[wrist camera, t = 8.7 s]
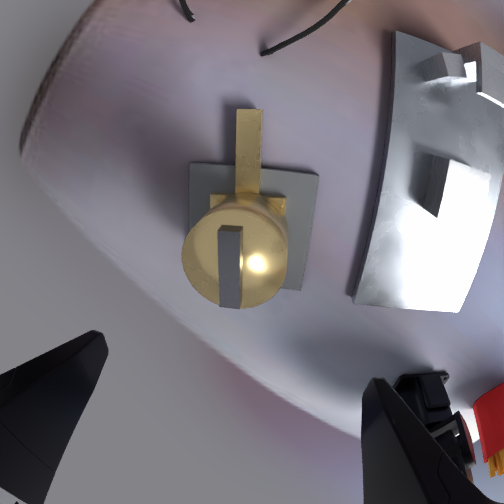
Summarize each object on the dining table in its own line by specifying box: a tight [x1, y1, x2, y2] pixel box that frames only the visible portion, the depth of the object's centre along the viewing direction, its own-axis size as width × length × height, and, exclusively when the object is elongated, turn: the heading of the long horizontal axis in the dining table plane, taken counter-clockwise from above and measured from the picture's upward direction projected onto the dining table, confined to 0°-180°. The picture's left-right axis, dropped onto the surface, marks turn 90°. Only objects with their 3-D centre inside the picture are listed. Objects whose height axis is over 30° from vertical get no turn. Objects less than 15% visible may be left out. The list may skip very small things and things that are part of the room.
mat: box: [189, 163, 319, 290], centre depth 18 cm, size 8×8×1 cm
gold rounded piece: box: [182, 109, 289, 309], centre depth 14 cm, size 10×5×6 cm, turn 178°
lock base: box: [352, 31, 504, 312], centre depth 13 cm, size 19×10×5 cm, turn 176°
